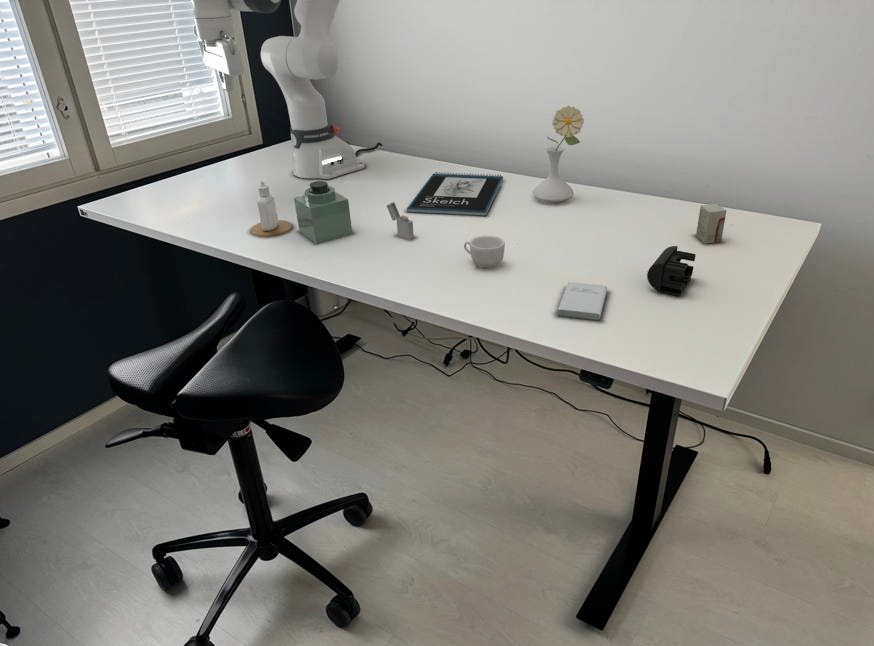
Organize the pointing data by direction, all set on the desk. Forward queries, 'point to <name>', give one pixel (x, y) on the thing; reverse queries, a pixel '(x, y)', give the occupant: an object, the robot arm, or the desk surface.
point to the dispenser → (323, 215)
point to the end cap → (671, 271)
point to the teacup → (486, 251)
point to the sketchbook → (457, 194)
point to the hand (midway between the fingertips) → (228, 90)
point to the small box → (711, 223)
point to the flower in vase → (553, 185)
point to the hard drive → (582, 301)
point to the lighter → (401, 222)
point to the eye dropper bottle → (267, 209)
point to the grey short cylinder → (319, 187)
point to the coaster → (281, 229)
